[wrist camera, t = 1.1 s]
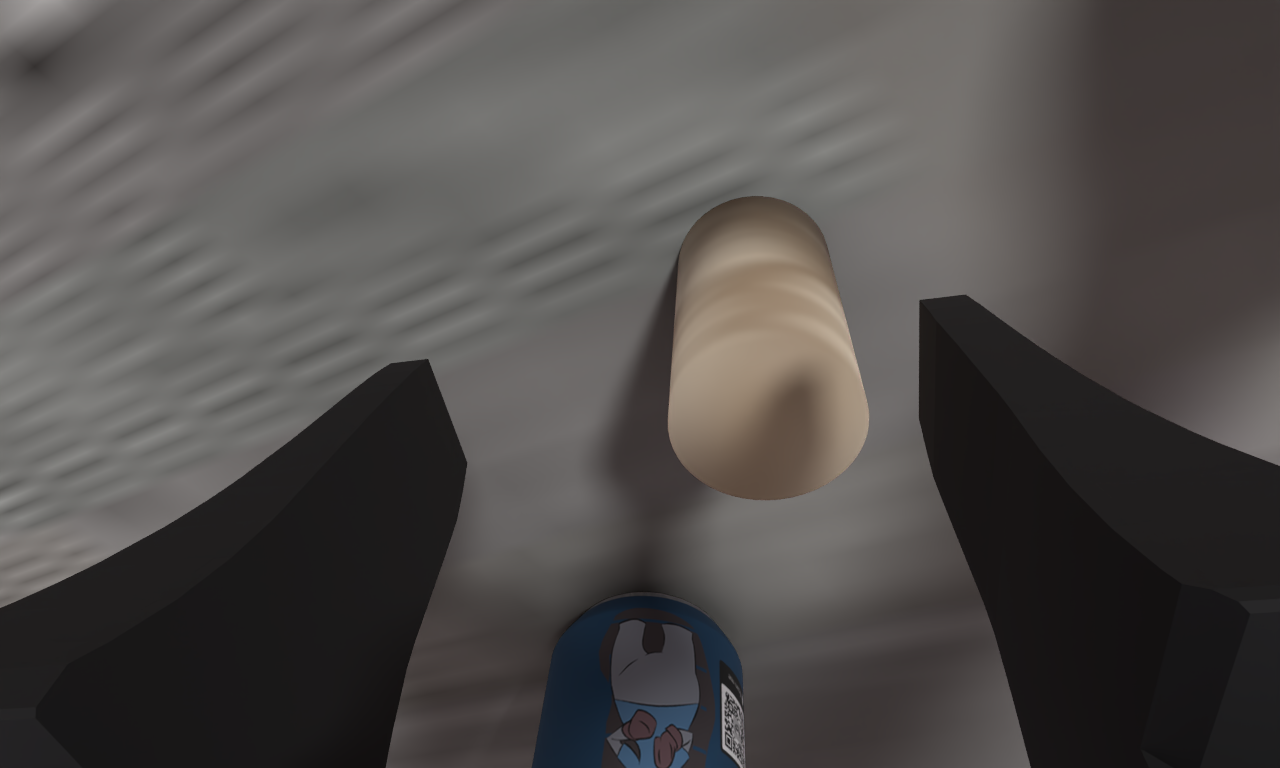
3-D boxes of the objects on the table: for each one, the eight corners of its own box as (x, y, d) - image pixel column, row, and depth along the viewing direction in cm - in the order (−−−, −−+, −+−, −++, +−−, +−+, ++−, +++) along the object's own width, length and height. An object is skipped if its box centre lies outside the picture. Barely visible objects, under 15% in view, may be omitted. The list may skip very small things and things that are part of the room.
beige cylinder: (848, 212, 22) (898, 362, 16) (804, 342, 24) (834, 514, 18) (695, 183, 22) (689, 324, 16) (665, 316, 24) (651, 482, 18)
